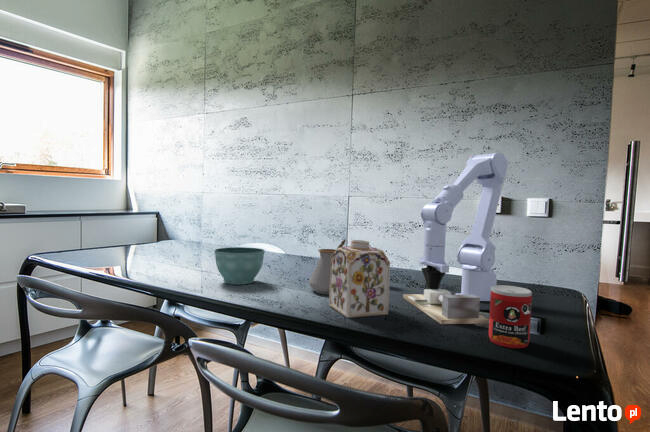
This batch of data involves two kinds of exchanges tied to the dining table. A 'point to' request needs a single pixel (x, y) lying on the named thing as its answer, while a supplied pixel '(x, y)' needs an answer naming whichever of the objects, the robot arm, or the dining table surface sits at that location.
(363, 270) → the decorative jar
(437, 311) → the bench
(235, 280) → the flower pot
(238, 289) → the dining table surface
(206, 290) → the dining table surface
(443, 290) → the gauge carriage
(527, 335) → the canned food
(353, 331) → the dining table surface
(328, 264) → the coffee pot
